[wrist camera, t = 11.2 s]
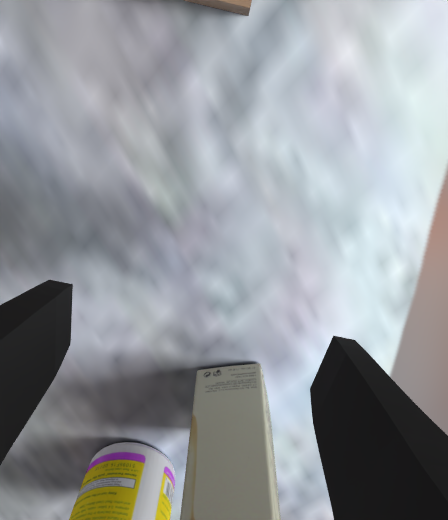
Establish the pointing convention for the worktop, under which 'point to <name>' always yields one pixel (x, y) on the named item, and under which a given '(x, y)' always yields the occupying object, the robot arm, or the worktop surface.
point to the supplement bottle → (126, 485)
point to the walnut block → (227, 5)
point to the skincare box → (230, 448)
